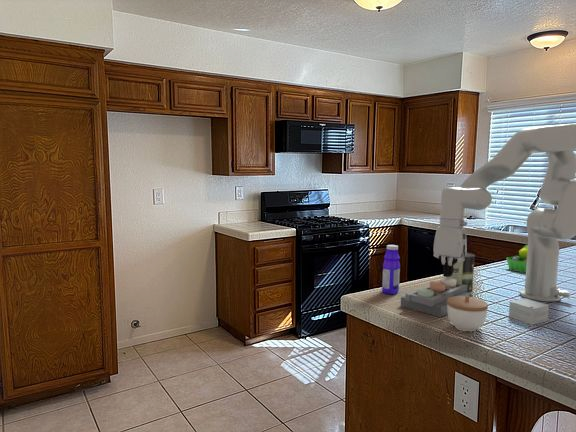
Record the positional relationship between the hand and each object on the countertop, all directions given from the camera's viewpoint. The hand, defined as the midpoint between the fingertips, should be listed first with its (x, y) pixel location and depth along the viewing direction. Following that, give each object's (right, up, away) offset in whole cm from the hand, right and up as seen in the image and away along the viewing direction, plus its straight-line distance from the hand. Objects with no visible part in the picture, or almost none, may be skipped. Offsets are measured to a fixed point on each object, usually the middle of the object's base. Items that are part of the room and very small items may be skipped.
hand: (447, 275), depth 147 cm
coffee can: (+8, -7, +11) cm, 15 cm away
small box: (+18, -11, -18) cm, 27 cm away
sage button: (-11, -6, -10) cm, 16 cm away
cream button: (0, -4, +1) cm, 4 cm away
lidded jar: (-4, -11, -26) cm, 28 cm away
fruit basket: (+50, -4, +44) cm, 67 cm away
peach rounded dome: (-5, -5, -5) cm, 9 cm away
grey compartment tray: (-5, -9, -4) cm, 11 cm away
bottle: (-18, -7, +8) cm, 21 cm away
